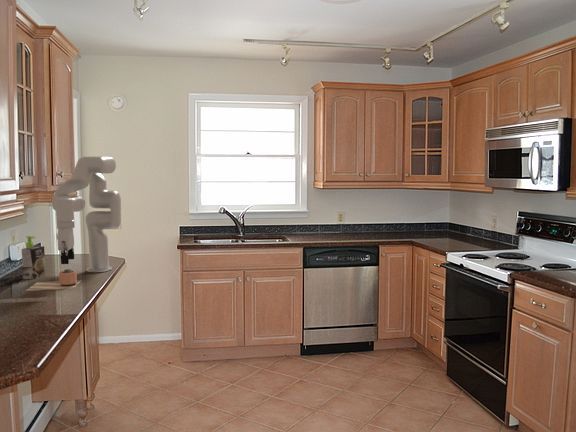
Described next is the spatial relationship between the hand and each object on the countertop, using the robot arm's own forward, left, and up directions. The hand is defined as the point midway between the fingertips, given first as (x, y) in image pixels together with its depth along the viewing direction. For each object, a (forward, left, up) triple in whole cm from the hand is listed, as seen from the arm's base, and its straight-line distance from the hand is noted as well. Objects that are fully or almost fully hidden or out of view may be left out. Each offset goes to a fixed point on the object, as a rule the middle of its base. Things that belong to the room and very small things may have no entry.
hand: (67, 261), depth 241 cm
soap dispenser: (-31, -26, -13) cm, 43 cm away
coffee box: (-19, -21, -13) cm, 31 cm away
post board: (+1, -6, -12) cm, 14 cm away
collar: (+1, 0, -10) cm, 10 cm away
